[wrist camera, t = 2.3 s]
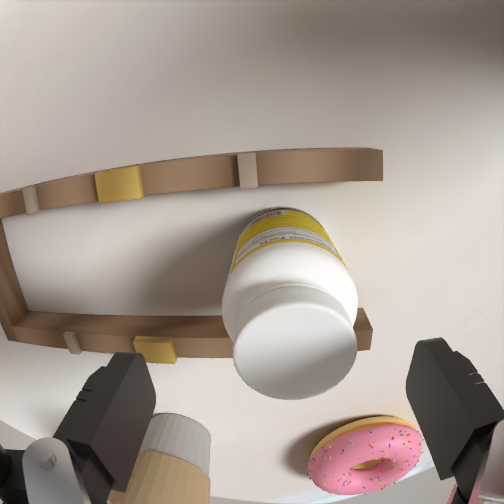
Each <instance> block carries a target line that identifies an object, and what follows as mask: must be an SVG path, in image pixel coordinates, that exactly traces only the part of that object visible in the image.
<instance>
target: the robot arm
mask: <svg viewBox="0 0 504 504" xmlns="http://www.w3.org/2000/svg"><path fill="white" fill-rule="evenodd" d="M406 394H407V398H408V400H409V403H410V405H411V407H412V410H413V412H414V414H415V417H416V419H417V421H418V424H419V426H420V429H421V431H422V433H423V436H424V438H425V441H426V443H427V446H428V448H429V451H430V453H431V456H432V459H433V461H434V464H435V466H436V469H437V472H438V474H439V477H440V480H444V479H447V478H450V477H453V476H455V479H456V482H457V483H456V484H455V485H454V487H453V490H452V492H451V495H450V498H449V500H448V502H447V504H504V410H503V408H502V407H501V405H500V403H499V402H498V400H497V399H496V397H495V396H494V394H493V393H492V391H491V390H490V388H489V387H488V385H487V384H486V383H484V380H483V378H482V377H481V375H480V374H478V371H477V370H476V368H475V367H474V365H473V364H472V363H471V361H470V360H469V359H467V358H466V357H465V356H463V355H462V354H460V353H459V352H458V351H454V352H453V351H452V349H451V348H450V347H449V345H448V344H447V343H446V341H445V340H444V339H443V338H441V337H440V338H434V339H427V340H421V341H418V342H417V344H416V346H415V349H414V353H413V357H412V361H411V365H410V369H409V372H408V376H407V379H406ZM155 404H156V393H155V389H154V386H153V383H152V380H151V377H150V374H149V371H148V368H147V365H146V361H145V358H144V356H143V355H142V354H141V353H136V352H120V351H118V352H116V353H115V354H114V355H113V357H112V359H111V360H110V362H109V363H108V365H107V367H104V366H102V367H100V368H99V369H98V370H97V371H96V372H94V373H93V374H92V375H91V376H89V378H88V380H87V381H86V383H85V384H84V386H83V388H82V391H80V392H79V394H78V396H77V397H76V401H74V402H73V404H72V406H71V407H70V409H69V410H68V412H67V414H66V415H65V417H64V419H63V421H62V422H61V424H60V426H59V427H58V429H57V431H56V432H55V434H54V436H53V437H52V438H50V437H49V438H41V439H39V440H36V441H35V442H33V443H32V444H31V445H29V446H28V447H27V449H26V450H8V449H4V448H3V447H2V446H1V445H0V499H1V500H2V501H3V504H111V502H110V500H109V499H108V497H109V494H110V492H111V490H115V491H119V492H123V493H125V492H126V489H127V486H128V483H129V480H130V477H131V474H132V471H133V468H134V465H135V462H136V460H137V457H138V454H139V451H140V448H141V445H142V442H143V440H144V437H145V434H146V431H147V428H148V426H149V423H150V420H151V417H152V415H153V412H154V409H155Z"/></svg>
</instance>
